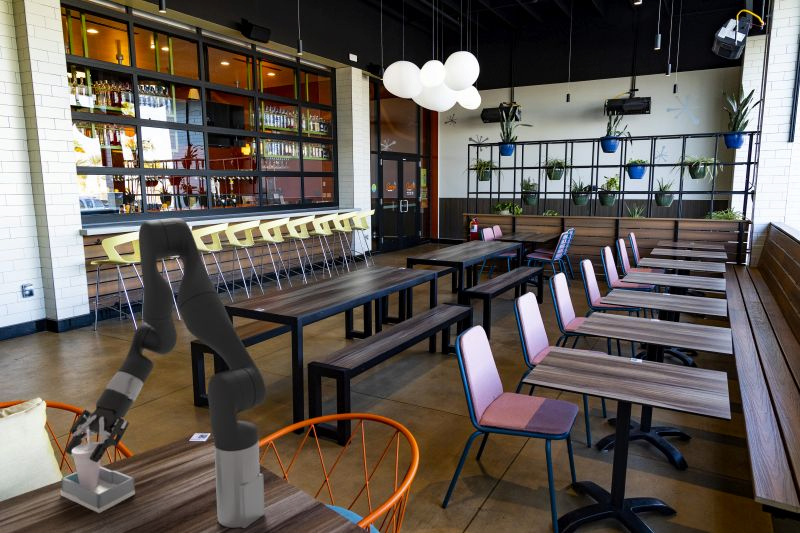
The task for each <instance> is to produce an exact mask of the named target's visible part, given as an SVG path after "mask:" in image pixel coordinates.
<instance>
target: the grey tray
mask: <svg viewBox="0 0 800 533" xmlns="http://www.w3.org/2000/svg"><path fill="white" fill-rule="evenodd" d="M135 487H136V486H135V478H134V477H132V476H129V475H128V474H124V473H122V472H119V471H117V470H111V469H108V468H106V467H104V466H101V465H100V469H99V482H98V486H97V487H95V488H93V489H90V490H88V489H86V488H83V485H80V484H79V479H78V475H77V471H75V472H73V473H72V474H71V473H70V474H69V475H66V476H64V477H62V478H61V489H62V490H60V495H61V496H62V497H63V498H66V499H68V500H70V501H72V502H73V503H74V502H75V503H77V504H79V505H81V506H83V507H85V508H87V509H89V510H92V511H94V512H96V513H98V514H100V513H102V512H103V511H106V510H109V508H112V507H114V506H116V505H118V504H119V503H121V502H122V501H125V500H126V499H128V498H130V497H132V496H134V495H135V494H136V488H135Z"/></svg>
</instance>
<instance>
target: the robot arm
mask: <svg viewBox="0 0 800 533" xmlns="http://www.w3.org/2000/svg"><path fill="white" fill-rule="evenodd" d="M138 248H139V257H140V269H141V275H142V276H141V277H142V282H143V283H142V284H143V300H142V303H143V305H142V319H143V321H144V322H143V323H141V324H140V325H138V327H137V328H136V329H135V330H134V334H133V337H132V340H131V343H130V347H129V351H128V353H127V354H126V355H127V356H126V357H125V359H124V361H123V362H122V364H121V365H120V366H119V369H118V370H117V372H116V373H115V374H114V376H112V378H111V379H110V381H109V382H108V384H107V385H106V387H105V388H104V390H103V391H102V393H101V395H100V396H99V397H98V399H97V401H96V402H95V407H96V408H95V410H94V411H93V412H90V411H89V410H87V409H84V410H83V411H82V412H81V413H80V415H79V417H78V418H77V420H75V422H74V424H73V425H72V426H71V428H70V429H69V433H71V434H72V439H71V440H70V441H69V443H68V445H67V446H66V447H65V451H64V452H65V453H66V454H68V455H70V456H72V455H71V454H72V449H73V448H74V447H76V446H78V445H81V444H82V442H83V440H84V439H86V438H87V430H90V436H93V435H94V434H97V435H98V434H99V437H100V438H99V439H100V440H99V443H101V444H98V445H97V447H96V448H95V450H94V451H93V453H92V455H91V456H90V460H92V461H94V462H98V461H99V460H100V461H101V459H102V458H103V457H104V454H105V453H106V451H107V450H108V448H111V447H117V446H118V445H119V443H120V441H121V439H122V438H123V436H124V434H125V432H126V430H127V429H128V427H129V425H130V423H129V421H127V420H125V419H123V418H125V417H126V416H127V414H128V413H129V411H130V409H131V407H132V406H133V404H134V402H135V401H136V400H137V398H138V396H139V394H140V392H141V390H142V387H143V386H144V384H145V382H146V381H147V379H148V377H149V376H150V374H151V372H152V371H153V369H154V363H153V360H151V359H150V358H148V357H147V356H145V355H143V352H144V350H146V351H149V352H152V353H155V354H158V355H162V356H163V355H168V354H169V353H171V352H172V351H173V350H174V349H175V347H176V345H177V340H178V339H177V338H178V335H177V334H178V333H177V330H176V329H177V328H176V326H175V322H174V317H173V307H174V293H173V290H172V287H171V286H170V284H169V283H168V282H167V280H166V279H165V278H164V277H163V275H162V274H161V272H160V271H159V269H158V260H159V259H164V258H172V257H179V258H180V260H181V262H182V266H183V275H182V280H181V283H180V285H179V288H178V293H177V297H176V307H177V310H178V311H179V314H180V316H181V318H182V320H183V323H184V325H185V326H186V329H187V331H189V333H190V334H192V336H194V337H195V338H196V339H198V340H199V341H200V342H202V343H203V344H205V346H208V347H209V348H211V349H212V350H214V352H216V353H217V354H218V355H219V356H220V357H221V358H222V359H223V360H224V362H225V363H226V365H227V367H228V368H229V369H228V370H225V371H220V372H218V373H216V374H213V375H212V376H211V377H210V379H209V380H208V381H209V382H208V384H207V385H208V386H207V400H208V406H209V407H208V409H209V417H210V418H209V419H210V427H211V429H210V430H211V433H212V437H213V442H214V443H213V445H214V463H215V464H214V466H215V467H214V468H215V491H216V508H217V510H216V512H217V522H218V523H219V524H220V525H221V526H223V527H226V528H231V529H233V528H243V529H246V528H247V527H249V526H250V525H251V524H253V523H254V522H256V521H257V520H258V519H260V518H261V517H263V516H264V515H265V514H266V512H265V511H266V510H265V488H264V487H265V486H264V484H265V483H264V474H263V473H260V472H261V471H260V469H261V468H260V443H259V442H260V438H259V428H258V426H257V425H256V424H254V423H252V422H250V421H245V420H237V414H239V413H241V412H244V411H248V410H250V409H253V408H256V407H258V406H260V405H262V404H263V403H264V401H265V399H266V395H267V387H266V384H265V380H264V377H263V375H262V374H261V371H260V369H259V368H258V366H257V365H256V362H255V361H254V359H253V358H252V356H251V355H250V353H249V352H248V350H247V348H246V347H245V344H243V342H242V340H241V338H240V336H239V335H238V333H237V331H236V329H235V326H234V324H233V323H232V320H231V318H230V316H229V314H228V312H227V310H226V308H225V305H224V303H223V300H222V298H221V297H220V295H219V293H218V291H217V289H216V287H215V285H214V283H213V282H212V279H211V277H210V275H209V273H208V271H207V269H206V267H205V264H204V262H203V260H202V256H201V255H200V254H201V253H200V250H199V248H198V246H197V243H196V241H195V238H194V234H193V233H192V230H191V228H190V226H189V224H188V223H187V222H186V220H184V219H183V218H180V217H172V218H171V217H170V218H162V219H154V220H153V219H152V220H146V221H144V222H143V223H142V224H141V225H140V227H139V231H138Z"/></svg>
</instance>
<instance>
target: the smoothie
mask: <svg viewBox="0 0 800 533" xmlns="http://www.w3.org/2000/svg"><path fill="white" fill-rule="evenodd" d="M86 438H87V442H85V443H81V444H80V445H78V446H76V447H74V448H73V449H72V454H71V455H70V456H72V457H73V461H74V464H75V468H76V469H75V470H76V472H77V475H78V479H79V484H80V485H83V488H86V489H88V490H90V489H93V488H95V487H97V486H98V482H99V469H100V466H101V459H100V460H99V461H98V462H94V461H92V460H90V456H91V455H92V453H93V451H94V450H95V448H96V447H97V445H98V444H101V443H100V442H99V441H91V435H90V430H87V437H86Z"/></svg>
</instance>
